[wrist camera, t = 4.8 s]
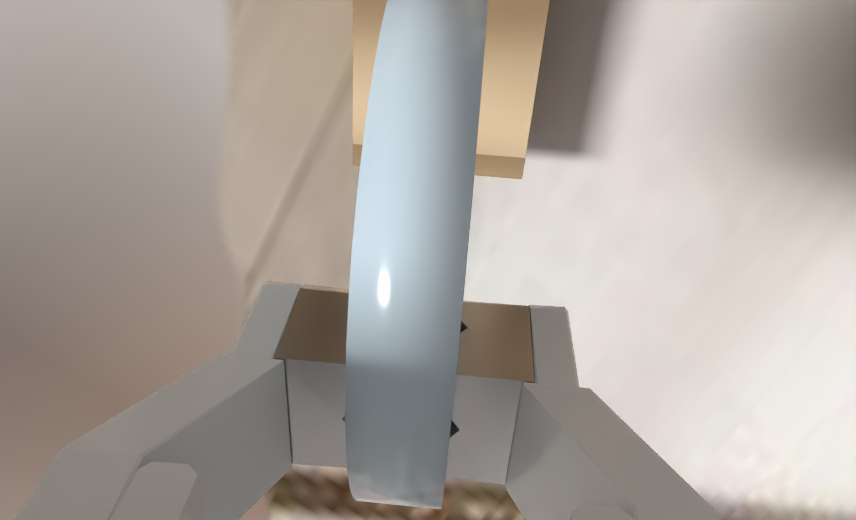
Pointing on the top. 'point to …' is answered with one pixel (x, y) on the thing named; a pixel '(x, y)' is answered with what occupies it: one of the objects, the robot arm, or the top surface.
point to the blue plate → (412, 249)
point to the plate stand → (501, 83)
